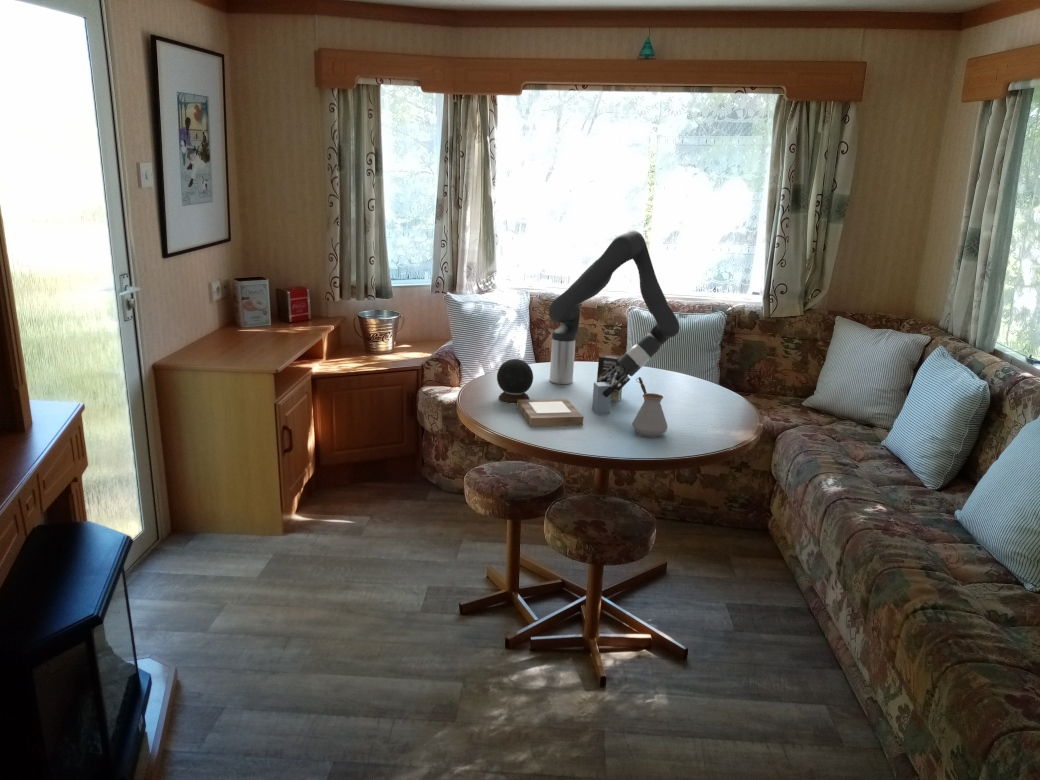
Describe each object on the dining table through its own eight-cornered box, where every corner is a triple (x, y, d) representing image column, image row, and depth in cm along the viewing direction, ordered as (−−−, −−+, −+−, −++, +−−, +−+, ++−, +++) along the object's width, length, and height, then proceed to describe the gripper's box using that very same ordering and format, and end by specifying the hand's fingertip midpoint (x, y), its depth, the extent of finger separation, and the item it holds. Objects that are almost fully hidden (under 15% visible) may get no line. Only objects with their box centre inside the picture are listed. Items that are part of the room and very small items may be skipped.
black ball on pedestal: (495, 403, 277) (496, 363, 272) (496, 393, 289) (498, 354, 285) (531, 405, 277) (534, 365, 272) (532, 394, 289) (534, 356, 285)
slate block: (591, 409, 276) (593, 382, 273) (605, 408, 277) (607, 381, 274) (596, 413, 272) (598, 386, 269) (609, 413, 273) (612, 386, 270)
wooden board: (517, 407, 274) (517, 398, 273) (566, 406, 278) (566, 397, 277) (530, 426, 255) (531, 417, 254) (582, 425, 259) (583, 415, 258)
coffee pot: (671, 439, 250) (676, 395, 245) (637, 439, 248) (641, 395, 243) (651, 417, 270) (655, 376, 265) (619, 418, 268) (622, 376, 264)
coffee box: (594, 398, 288) (597, 356, 284) (598, 394, 294) (601, 352, 290) (618, 401, 286) (622, 359, 281) (621, 397, 292) (625, 355, 287)
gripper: (620, 347, 277) (587, 379, 277) (634, 357, 264) (600, 390, 264) (632, 362, 280) (600, 393, 280) (647, 372, 266) (613, 405, 267)
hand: (600, 391), depth 272 cm, fingers open, 8 cm apart
